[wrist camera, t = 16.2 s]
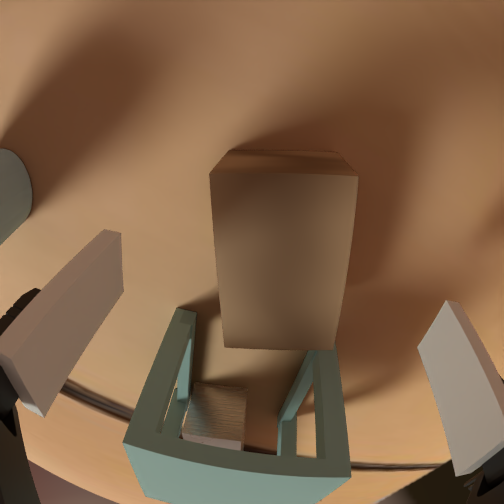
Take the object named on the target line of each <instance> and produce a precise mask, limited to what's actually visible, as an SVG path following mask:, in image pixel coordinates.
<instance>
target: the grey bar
mask: <svg viewBox="0 0 504 504" xmlns="http://www.w3.org/2000/svg"><path fill="white" fill-rule="evenodd" d="M246 405H247V388H239V387H230V386H221V385H213V384H206V383H198V382H195V385H194V389H193V393H192V396H191V400H190V404H189V408H188V412H187V415H186V419H185V423H184V427H183V431H182V435H183V438H184V440H187V441H192V442H196V443H201V444H206V445H211V446H216V447H221V448H227V449H233V450H239V451H244V439H245V422H246Z"/></svg>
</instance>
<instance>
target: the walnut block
mask: <svg viewBox="0 0 504 504" xmlns="http://www.w3.org/2000/svg"><path fill="white" fill-rule="evenodd" d="M209 176H210V191H211V205H212V219H213V231H214V244H215V256H216V267H217V278H218V289H219V299H220V309H221V319H222V328H223V338H224V347H227V348H244V349H269V350H333V348H334V343H335V338H336V333H337V328H338V323H339V318H340V312H341V307H342V301H343V295H344V290H345V283H346V277H347V271H348V264H349V258H350V250H351V243H352V236H353V228H354V219H355V210H356V201H357V191H358V180H359V176H358V175H357V174H356V173H355V172H354V170H353V169H352V168H351V167H350V166H349V165H348V164H347V163H346V161H345V160H344V159H343V158H342V157H341V156H340V155H339V154H338V153H337V152H322V151H296V150H229V151H228V152H227V153H226V154H225V155H224V157H223V158H222V159H221V160H220V161H219V162H218V164H217V165H216V166H215V167H214V168H213V170H212V171H211V172H210V173H209Z"/></svg>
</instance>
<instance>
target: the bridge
mask: <svg viewBox="0 0 504 504" xmlns="http://www.w3.org/2000/svg"><path fill="white" fill-rule="evenodd" d="M196 318H197V312H193V311H189V310H184V309H180V308H176V310H175V313H174V315H173V317H172V320H171V322H170V324H169V327H168V329H167V331H166V334H165V336H164V338H163V341H162V343H161V346H160V348H159V350H158V353H157V355H156V358H155V360H154V363H153V365H152V368H151V370H150V372H149V375H148V377H147V380H146V382H145V385H144V387H143V390H142V393H141V395H140V398H139V400H138V403H137V405H136V408H135V411H134V413H133V416H132V418H131V421H130V424H129V426H128V429H127V432H126V434H125V437H124V440H123V442H122V443H123V445H124V448H125V450H126V453H127V455H128V458H129V460H130V463H131V465H132V468H133V470H134V472H135V475H136V477H137V479H138V481H139V484H140V486H141V488H142V490H143V492H144V494H145V496H146V497H149V498H153V499H156V500H160V501H164V502H168V503H172V504H315V503H317V502H318V501H320V500H321V499H323V498H324V497H326V496H327V495H329V494H330V493H331V492H333V491H334V490H335V489H337V488H338V487H340V486H341V485H342V484H343V483H345V482H346V481H347V480H349V479H350V478H351V466H350V455H349V444H348V434H347V425H346V416H345V408H344V400H343V392H342V384H341V377H340V370H339V363H338V356H337V350H336V343H334V348H333V350H308V352H307V355H306V357H305V359H304V361H303V364H302V366H301V368H300V370H299V372H298V375H297V377H296V379H295V381H294V383H293V385H292V387H291V389H290V392H289V394H288V396H287V398H286V400H285V402H284V404H283V406H282V408H281V410H280V412H279V414H278V419H277V428H278V444H277V455H268V454H260V453H252V452H245V451H239V450H233V449H227V448H221V447H216V446H211V445H206V444H201V443H196V442H192V441H187V440H183V439H179V435H180V431H181V427H182V423H183V420H184V416H185V412H186V411H187V409H188V406H189V402H190V392H191V378H192V365H193V352H194V340H195V329H196ZM177 377H178V385H177V389H175V390H174V393H173V396H172V399H171V402H170V398H171V395H172V392H173V389H174V386H175V383H176V380H177ZM312 382H313V384H314V403H315V424H316V453H317V458H300V457H296V442H297V410H298V408H299V406H300V404H301V403H302V401H303V399H304V397H305V395H306V394H307V392H308V390H309V388H310V386H311V384H312ZM169 402H170V406H169V409H168V412H167V415H166V418H165V422H164V425H163V428H162V432H161V434H160V430H161V427H162V424H163V421H164V417H165V414H166V411H167V408H168V405H169Z"/></svg>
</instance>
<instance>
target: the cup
mask: <svg viewBox="0 0 504 504" xmlns="http://www.w3.org/2000/svg"><path fill="white" fill-rule="evenodd" d="M31 206H32V187H31V182H30V178H29V175H28V172H27V170H26V168H25V166H24V164H23V162H22V161H21V160H20V158H19V157H18V156H17V155H16V154H15V153H13V152H12V151H10V150H7V149H1V148H0V245H1V244H2V243H3V242H4V241H5V240H6V239H7V238H8V237H9V236H10V235H11V234H12V233H13V232H14V231H15V230H16V229H17V228H18V227H19V226H20V225H21V224H22V223H23V222H24V221H25V220H26V218H27V217H28V215H29V213H30V211H31Z"/></svg>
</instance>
